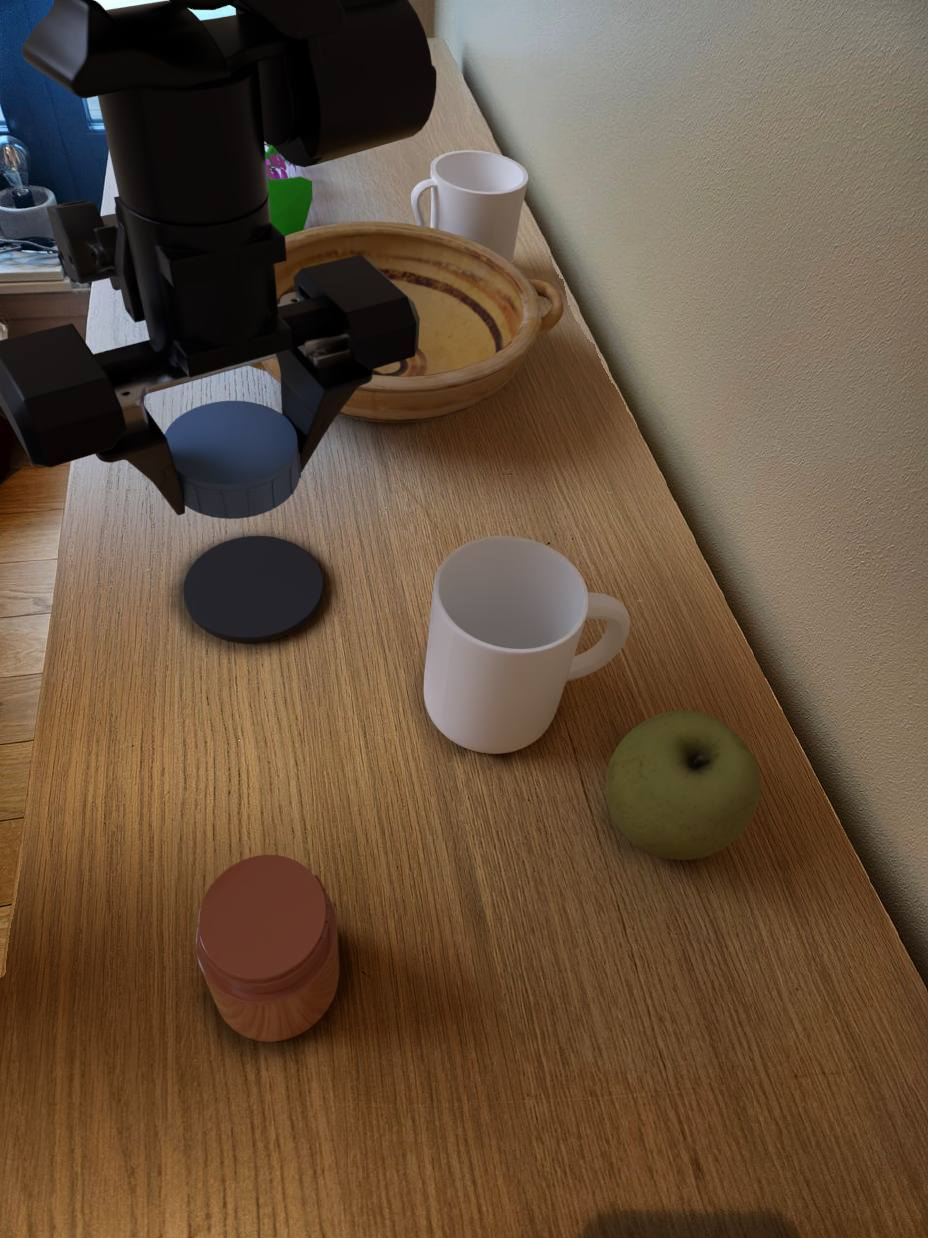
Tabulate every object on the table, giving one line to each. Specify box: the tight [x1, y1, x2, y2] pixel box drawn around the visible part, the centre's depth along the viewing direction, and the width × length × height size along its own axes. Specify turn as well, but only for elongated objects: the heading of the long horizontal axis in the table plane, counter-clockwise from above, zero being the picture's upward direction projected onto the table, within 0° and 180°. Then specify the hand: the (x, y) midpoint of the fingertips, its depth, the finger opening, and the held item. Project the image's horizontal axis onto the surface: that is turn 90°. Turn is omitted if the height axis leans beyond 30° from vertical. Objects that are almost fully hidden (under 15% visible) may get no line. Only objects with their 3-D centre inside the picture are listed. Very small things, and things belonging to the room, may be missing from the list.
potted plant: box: [265, 142, 313, 236], centre depth 85 cm, size 12×16×35 cm
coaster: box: [182, 535, 324, 644], centre depth 57 cm, size 9×9×1 cm
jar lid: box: [164, 400, 302, 520], centre depth 44 cm, size 7×7×2 cm
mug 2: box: [423, 535, 631, 755], centre depth 50 cm, size 12×8×10 cm
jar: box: [194, 854, 340, 1043], centre depth 39 cm, size 6×6×8 cm
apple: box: [604, 709, 762, 861], centre depth 46 cm, size 8×8×7 cm
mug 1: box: [410, 149, 529, 264], centre depth 81 cm, size 11×9×10 cm
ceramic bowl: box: [247, 220, 565, 424], centre depth 70 cm, size 30×24×8 cm
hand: (238, 488), depth 46 cm, fingers closed on jar lid, 6 cm apart
